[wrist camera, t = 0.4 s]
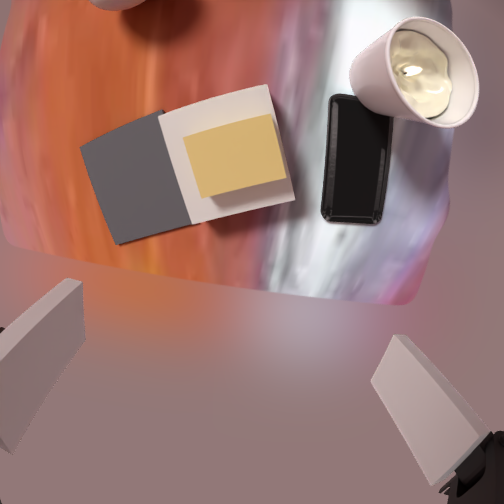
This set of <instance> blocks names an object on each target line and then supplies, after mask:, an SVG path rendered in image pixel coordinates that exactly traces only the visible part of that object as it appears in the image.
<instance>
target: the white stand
mask: <svg viewBox="0 0 504 504" xmlns="http://www.w3.org/2000/svg"><path fill="white" fill-rule="evenodd" d="M270 113H271V116H272V120H273V124H274V128H275V132H276V136H277V140H278V144H279V148H280V152H281V156H282V161H283V165H284V169H285V173H286V178H284V179H279V180H275V181H270V182H266V183H262V184H257V185H253V186H249V187H245V188H241V189H237V190H233V191H229V192H225V193H221V194H217V195H213V196H210V197H206V198H202V199H201V196H200V193H199V189H198V186H197V183H196V180H195V177H194V174H193V170H192V167H191V164H190V161H189V157H188V154H187V151H186V147H185V144H184V141H183V137H186V136H189V135H192V134H195V133H198V132H201V131H205V130H208V129H211V128H215V127H218V126H222V125H226V124H229V123H233V122H237V121H241V120H245V119H249V118H253V117H257V116H261V115H266V114H270ZM158 119H159V122H160V126H161V129H162V132H163V136H164V139H165V142H166V146H167V149H168V152H169V155H170V159H171V162H172V165H173V168H174V171H175V174H176V178H177V181H178V184H179V187H180V190H181V193H182V196H183V199H184V202H185V205H186V208H187V211H188V214H189V217H190V219H191V222H192V225H193V224H197V223H200V222H204V221H208V220H212V219H216V218H220V217H224V216H228V215H233V214H237V213H241V212H245V211H249V210H254V209H258V208H262V207H266V206H271V205H275V204H280V203H284V202H289V201H293V200H295V197H294V192H293V187H292V183H291V178H290V174H289V169H288V165H287V161H286V156H285V152H284V148H283V144H282V140H281V136H280V132H279V128H278V124H277V120H276V116H275V112H274V108H273V104H272V101H271V97H270V93H269V90H268V86H267V84H265V85H260V86H256V87H251V88H247V89H243V90H239V91H235V92H231V93H228V94H224V95H220V96H217V97H214V98H210V99H207V100H204V101H200V102H197V103H194V104H191V105H188V106H185V107H182V108H179V109H176V110H173V111H171V112H168V113H165V114H163V115H160V116H158Z"/></svg>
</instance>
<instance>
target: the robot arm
mask: <svg viewBox="0 0 504 504" xmlns="http://www.w3.org/2000/svg"><path fill="white" fill-rule="evenodd" d="M85 340H86V338H85V326H84V310H83V282H81V281H78V280H74V279H70V278H66V279H65V280H63V281H62V282H61V283H59V284H58V285H57V286H56V287H54V288H53V289H52V290H51V291H49V292H48V293H47V294H46V295H44V296H43V297H42V298H41V299H39V300H38V301H37V302H36V303H35V304H33V305H32V306H31V307H30V308H29V309H27V310H26V311H25V312H24V313H23V314H22V315H20V316H19V317H18V318H17V319H16V320H15V321H14V322H12V323H11V324H10V325H9V326H8V327H7V328H6V329H5V328H3V327H1V328H0V447H1V448H2V449H4V450H5V451H7V452H8V453H10V454H12V455H13V453H14V451H15V449H16V448H17V446H18V444H19V442H20V440H21V439H22V437H23V435H24V433H25V432H26V430H27V428H28V426H29V425H30V423H31V421H32V420H33V418H34V416H35V414H36V413H37V411H38V410H39V408H40V406H41V405H42V403H43V402H44V400H45V398H46V397H47V395H48V394H49V392H50V391H51V389H52V388H53V386H54V384H55V383H56V382H57V380H58V379H59V377H60V376H61V374H62V373H63V371H64V370H65V368H66V367H67V365H68V364H69V363H70V361H71V360H72V358H73V357H74V355H75V354H76V353H77V351H78V350H79V348H80V347H81V345H82V344H83V343H84V342H85ZM370 382H371V383H372V385H373V387H374V388H375V390H376V392H377V393H378V395H379V397H380V398H381V400H382V402H383V403H384V405H385V407H386V409H387V410H388V412H389V414H390V415H391V417H392V419H393V420H394V422H395V423H396V425H397V427H398V429H399V431H400V432H401V434H402V436H403V438H404V439H405V441H406V443H407V445H408V446H409V448H410V450H411V452H412V453H413V455H414V457H415V458H416V460H417V462H418V464H419V466H420V467H421V469H422V471H423V473H424V475H425V477H426V478H427V480H428V482H429V484H430V486H431V485H434V484H436V483H438V482H441V481H443V480H444V479H446V478H447V477H448V476H449V475H450V474H451V473H452V472H453V471H455V472H456V475H455V476H454V477H453V478H452V479H451V480H450V481H449V482H447V483H446V484H445V485H444V486H443V487H442V488H441V489H440V491H439V493H441V492H443V491H444V490H445V489H446V488H448V487H450V488H449V489H448V490H447V491H445V493H444V494H446V495H449V498H448V503H447V504H504V431H497V432H495V434H493V433H492V432H491V431H490V430H489V428H488V427H487V426H486V425H485V423H484V422H483V421H482V420H481V418H480V417H479V416H478V415H477V414H476V412H475V411H474V410H473V409H472V408H471V407H470V405H469V404H468V403H467V402H466V401H465V399H464V398H463V397H462V396H461V395H460V394H459V392H458V391H457V390H456V389H455V388H454V387H453V386H452V384H451V383H450V382H449V381H448V380H447V379H446V378H445V376H444V375H443V374H442V373H441V372H440V371H439V370H438V369H437V368H436V366H434V364H433V363H432V362H431V361H430V360H429V359H428V358H427V357H426V356H425V355H424V353H423V352H422V351H421V350H420V349H419V348H418V347H417V346H416V345H415V344H414V343H413V342H412V341H411V340H410V338H409V337H408V336H407V335H401V334H394V335H393V337H392V339H391V341H390V344H389V346H388V348H387V350H386V352H385V354H384V356H383V358H382V360H381V362H380V364H379V366H378V368H377V369H376V371H375V373H374V375H373V377H372V379H371V380H370ZM0 504H2V503H1V500H0Z"/></svg>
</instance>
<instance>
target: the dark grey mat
mask: <svg viewBox="0 0 504 504" xmlns="http://www.w3.org/2000/svg"><path fill="white" fill-rule="evenodd" d="M163 114H164V111H163V110H160V111H157V112H155V113H152V114H150V115H147V116H145V117H142V118H140V119H137V120H135V121H133V122H130V123H128V124H126V125H124V126H121V127H119V128H117V129H115V130H113V131H111V132H109V133H106V134H104V135H102V136H100V137H98V138H96V139H94V140H92V141H90V142H89V143H87V144H85V145H83V146H81V147H80V150H81V153H82V156H83V159H84V163H85V166H86V169H87V172H88V175H89V178H90V180H91V183H92V186H93V189H94V192H95V194H96V197H97V200H98V202H99V205H100V208H101V210H102V213H103V215H104V218H105V220H106V223H107V225H108V228H109V230H110V232H111V235H112V237H113V240H114V242H115V244H116V245H118V244H121V243H124V242H128V241H131V240H135V239H138V238H142V237H146V236H149V235H153V234H156V233H160V232H164V231H167V230H171V229H175V228H179V227H182V226H186V225H190V224H192V222H191V219H190V217H189V214H188V211H187V208H186V205H185V202H184V199H183V196H182V193H181V190H180V187H179V184H178V181H177V178H176V174H175V171H174V168H173V165H172V162H171V159H170V155H169V152H168V149H167V146H166V142H165V139H164V136H163V132H162V129H161V126H160V122H159V119H158V116H160V115H163Z"/></svg>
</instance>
